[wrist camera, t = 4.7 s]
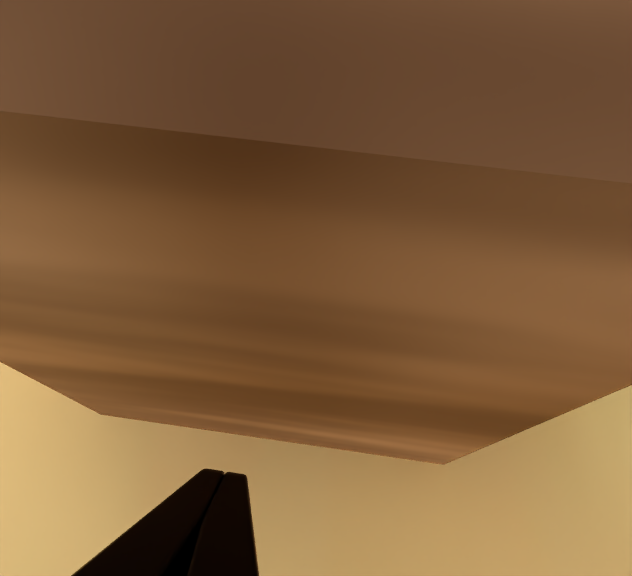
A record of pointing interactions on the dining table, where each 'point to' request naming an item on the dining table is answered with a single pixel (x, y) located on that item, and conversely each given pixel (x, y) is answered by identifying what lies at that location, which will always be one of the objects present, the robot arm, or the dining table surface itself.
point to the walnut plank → (319, 214)
